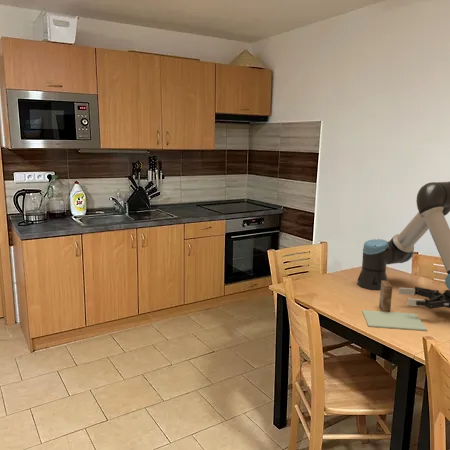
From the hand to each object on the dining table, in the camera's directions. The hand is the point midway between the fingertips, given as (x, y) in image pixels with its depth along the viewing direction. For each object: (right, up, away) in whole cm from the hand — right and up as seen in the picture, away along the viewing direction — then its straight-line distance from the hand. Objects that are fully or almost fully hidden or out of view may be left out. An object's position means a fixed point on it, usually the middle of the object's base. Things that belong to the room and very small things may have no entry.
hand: (403, 296), depth 183 cm
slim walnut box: (-7, -6, +3) cm, 10 cm away
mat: (-8, -9, -9) cm, 15 cm away
